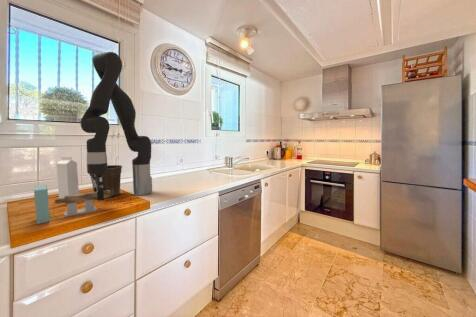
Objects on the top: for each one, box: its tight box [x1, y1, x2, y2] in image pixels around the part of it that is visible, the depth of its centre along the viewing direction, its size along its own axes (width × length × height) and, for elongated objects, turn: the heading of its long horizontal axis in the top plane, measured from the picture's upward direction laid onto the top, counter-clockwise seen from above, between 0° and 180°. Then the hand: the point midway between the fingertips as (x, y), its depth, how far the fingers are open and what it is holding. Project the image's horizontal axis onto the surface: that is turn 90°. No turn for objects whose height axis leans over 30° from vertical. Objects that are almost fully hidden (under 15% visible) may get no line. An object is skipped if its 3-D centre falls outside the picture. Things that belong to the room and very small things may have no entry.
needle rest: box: [63, 199, 98, 218], centre depth 88 cm, size 11×4×5 cm, turn 133°
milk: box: [55, 156, 80, 199], centre depth 110 cm, size 6×6×22 cm
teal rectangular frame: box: [33, 184, 51, 225], centre depth 80 cm, size 4×9×13 cm, turn 42°
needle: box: [54, 190, 111, 205], centre depth 89 cm, size 19×3×3 cm, turn 132°
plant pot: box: [89, 164, 123, 198], centre depth 115 cm, size 16×16×16 cm
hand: (99, 198), depth 93 cm, fingers open, 8 cm apart
